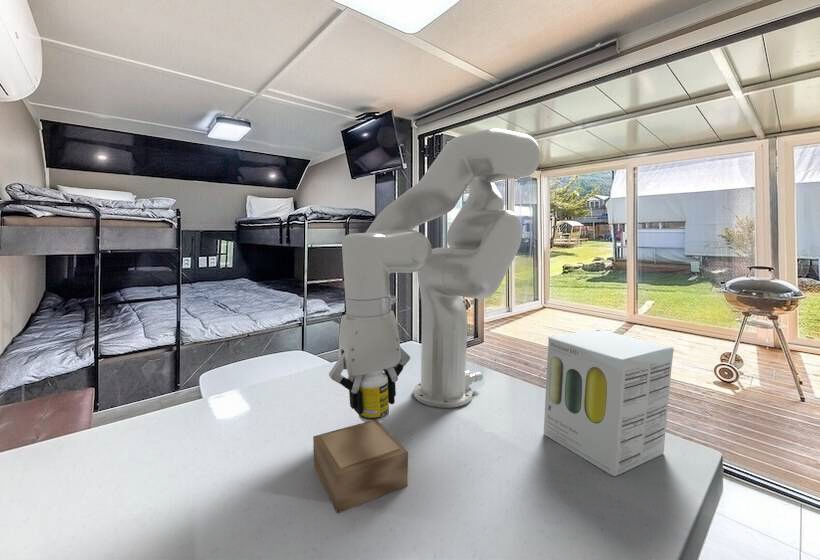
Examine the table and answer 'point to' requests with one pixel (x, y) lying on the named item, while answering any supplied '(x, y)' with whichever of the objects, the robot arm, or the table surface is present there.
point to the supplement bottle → (374, 396)
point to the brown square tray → (359, 464)
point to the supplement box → (608, 397)
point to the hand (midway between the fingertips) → (373, 404)
